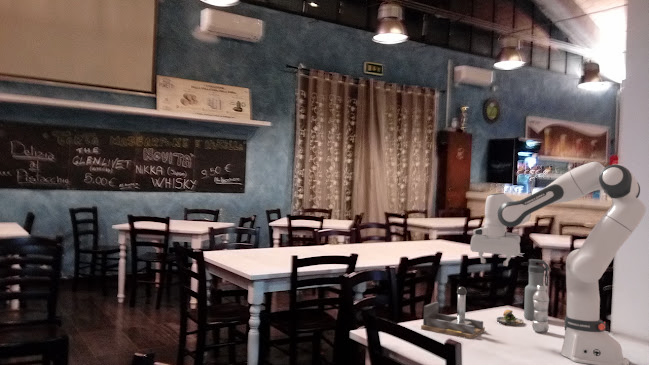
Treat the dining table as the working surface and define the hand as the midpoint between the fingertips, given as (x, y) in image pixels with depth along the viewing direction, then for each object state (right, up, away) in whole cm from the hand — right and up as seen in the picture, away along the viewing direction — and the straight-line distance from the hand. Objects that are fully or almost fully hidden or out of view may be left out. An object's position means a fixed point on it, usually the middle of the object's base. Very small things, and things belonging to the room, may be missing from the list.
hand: (494, 264), depth 228 cm
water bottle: (+28, -30, +28) cm, 50 cm away
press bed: (-17, -29, +4) cm, 33 cm away
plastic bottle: (+21, -30, +5) cm, 37 cm away
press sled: (-14, -27, +2) cm, 30 cm away
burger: (+13, -30, +19) cm, 38 cm away
